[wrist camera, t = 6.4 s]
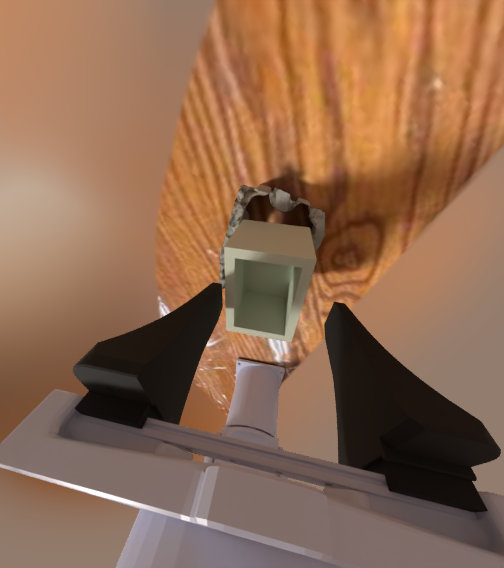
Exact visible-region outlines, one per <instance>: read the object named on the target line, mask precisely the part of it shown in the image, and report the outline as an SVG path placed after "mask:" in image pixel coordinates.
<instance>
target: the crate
mask: <svg viewBox="0 0 504 568" xmlns="http://www.w3.org/2000/svg"><path fill="white" fill-rule="evenodd" d="M224 261H225V302H226V330H228V331H233V332H239V333H244V334H249V335H255V336H260V337H265V338H271V339H276V340H281V341H287V342H291V341H292V338H293V335H294V332H295V328H296V325H297V322H298V319H299V316H300V312H301V309H302V306H303V303H304V300H305V296H306V293H307V290H308V287H309V283H310V280H311V277H312V274H313V271H314V267H315V264H316V261H317V258H316V254H315V249H314V245H313V240H312V235H311V231H310V228H309V227H301V226H293V225H285V224H277V223H269V222H261V221H253V220H245V219H243V220H242V222H241V223H240V225H239V226H238V228H237V229H236V231H235V232H234V233H233V235H232V236H231V238H230V239H229V241H228V242H227V243H226V245H225V246H224Z"/></svg>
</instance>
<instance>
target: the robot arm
mask: <svg viewBox="0 0 504 568" xmlns="http://www.w3.org/2000/svg"><path fill="white" fill-rule="evenodd" d="M222 307H223V304H222V284H219V283H212V284H210V285H209V286H208V287H206V288H205V289H204V290H203V291H201V292H200V293H199V294H197V295H196V296H195V297H193V298H192V299H191V300H189V301H188V302H187V303H185V304H184V305H182V306H181V307H179V308H178V309H176V310H174V311H173V312H171V313H169V314H167V315H166V316H164V317H162V318H160V319H158V320H156V321H154V322H152V323H150V324H147V325H145V326H143V327H141V328H138V329H136V330H133V331H131V332H128V333H126V334H123V335H120V336H117V337H114V338H111V339H108V340H105V341H102V342H98V343H97V344H96V345H95V346H94V347H93V348H92V349H91V350H90V351H89V352H88V353H87V354H86V355H85V356H84V357H83V358H82V359H81V360H80V361H79V362H78V363H77V364H76V365H75V366H74V368H73V372H74V375H75V376H76V377H77V378H78V379H79V381H81V383H82V384H83V385H84V386H85V387H86V388H87V389H88V390H89V392H88V393H87V394H86V395H85V396H84V397H83V396H81V395H78V394H75V393H71V392H67V391H63V390H58V389H56V390H53V391H52V392H51V393H50V394H49V395H48V396H47V397H46V398H45V399H44V400H43V402H41V403H40V404H39V405H38V406H37V407H36V408H35V409H34V410H33V412H31V413H30V414H29V415H28V416H27V417H26V418H25V420H23V421H22V423H20V424H19V425H18V426H17V428H15V429H14V431H12V432H11V433H10V434H9V435H8V437H7V438H6V439H5V440H4V441H3V442H2V443H1V444H0V467H1V468H5V469H8V470H11V471H14V472H18V473H21V474H24V475H27V476H31V477H34V478H37V479H41V480H45V481H48V482H51V483H54V484H58V485H61V486H64V487H68V488H71V489H75V490H78V491H81V492H85V493H88V494H91V495H95V496H98V497H101V498H105V499H108V500H111V501H115V502H118V503H121V504H125V505H128V506H132V507H135V508H138V509H140V511H139V513H138V516H137V518H136V520H135V523H134V525H133V528H132V530H131V532H130V535H129V537H128V539H127V542H126V544H125V547H124V549H123V551H122V554H121V556H120V558H119V561H118V563H117V566H116V568H504V496H502V495H498V494H494V493H489V492H478V491H477V490H476V488H475V486H474V484H473V482H472V481H476V476H475V474H474V472H473V470H472V469H471V467H472V466H476V465H479V464H483V463H486V462H490V461H492V460H495V459H497V458H498V457H499V456H500V454H501V449H500V448H499V447H498V445H497V444H496V442H495V441H494V439H493V438H492V436H491V435H490V434H489V432H488V431H487V429H486V428H485V426H484V425H483V423H482V422H481V421H480V420H478V419H477V418H475V417H474V416H472V415H470V414H469V413H468V412H466V411H464V410H463V409H462V408H460V407H459V406H457V405H456V404H454V403H452V402H451V401H449V400H448V399H447V398H445V397H444V396H442V395H441V394H440V393H438V392H437V391H435V390H434V389H433V388H431V387H430V386H428V385H427V384H426V383H424V382H423V381H422V380H420V379H419V378H418V377H417V376H416V375H414V374H413V373H412V372H411V371H409V370H408V369H407V368H406V367H405V366H403V365H402V364H401V363H400V362H399V361H398V360H397V359H395V358H394V357H393V356H392V355H391V354H390V353H389V352H388V351H387V350H386V349H384V347H383V346H382V345H381V344H380V343H379V342H378V341H377V340H376V339H375V338H374V337H373V336H372V335H371V334H370V333H369V332H368V331H367V329H366V328H365V327H364V326H363V325H362V324H361V322H360V321H359V320H358V319H357V318H356V317H355V315H354V314H353V313H352V312H351V310H350V309H349V308H348V307H347V306H346V305H345V304H344V303H338V302H334V304H333V306H332V308H331V311H330V313H329V315H328V317H327V320H326V322H325V324H324V325H325V340H326V345H327V349H328V355H329V359H330V364H331V369H332V374H333V380H334V389H335V400H336V412H337V430H338V460H339V461H338V464H337V463H333V462H329V461H325V460H321V459H317V458H312V457H308V456H304V455H300V454H296V453H292V452H287V451H284V450H283V448H281V447H278V443H279V442H278V441H279V439H278V438H276V433H277V414H278V396H279V388H280V385H281V382H282V379H283V376H284V373H285V368H283V367H279V366H274V365H269V364H264V363H259V362H254V361H249V360H244V359H237V361H236V385H235V389H234V393H233V397H232V401H231V405H230V410H229V414H228V418H227V422H226V426H224V427H223V430H222V433H220V432H217V433H216V434H213V433H209V432H205V431H201V430H197V429H193V428H188V427H185V426H180V425H179V422H180V419H181V415H182V412H183V409H184V405H185V402H186V399H187V396H188V393H189V390H190V386H191V384H192V381H193V378H194V375H195V372H196V369H197V366H198V364H199V361H200V358H201V355H202V353H203V351H204V348H205V346H206V344H207V342H208V340H209V338H210V336H211V334H212V332H213V330H214V328H215V326H216V324H217V321H218V319H219V316H220V313H221V310H222ZM186 451H187V452H186ZM189 452H191V453H195V454H199V455H203V456H205V459H204V462H200V461H194V460H193V455H192V454H191V453H189ZM288 477H289V478H293V479H296V480H300V481H304V482H308V483H312V484H316V485H320V486H324V487H325V488H324V489H323V491H321V490H319V489H317V488H315V487H312V486H309V485H306V484H303V483H299V482H296V481H292V480H288Z"/></svg>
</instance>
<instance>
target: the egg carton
mask: <svg viewBox="0 0 504 568" xmlns="http://www.w3.org/2000/svg"><path fill="white" fill-rule="evenodd" d="M271 189H272V188H270V187H268V186H265V185H263V184H260V185H259V186H258V188H257V189H255V188H252V187H248V186H245V185H242V186H241V189H239V191H238V195H237V198H236V200H235V204H234V208H233V211H232V214H231V218H230V222H229V227H228V230H227V233H226V237H225V241H224V244H223V248H222V251H221V255H220V279H219V284H222V288H223V289H224V288H225V261H224V246H225V245H226V243H227V242H228V241H229V239H230V238H231V236H232V235H233V233H234V232H235V231H236V229H237V228H238V226H239V225H240V223H241V222H242V220H243V219H245V220H249V219H250V218H249V214H248V211H247V210H246V207H247V205H248V203H249V202H250V200H251V199H252V198H253V197H254V196H256V195H263V196H264V195H267V194H269V198H270V202H271V205H272V206H273V207H274V208H275V209H276V210H277V211H280V212H288V211H291V210H292V209H294V208H295V206H296V205H298V204H299V203H303V204H306V205H308V210H309V214H310V215H309V218H310V220H311V222H312V223H313V227H312V229H311V230H310V231H311V235H312V240H313V245H314V249H315V252H316V251H317V249H318V248H319V246H320V245H321V243H322V241H323V238H324V234H325V212H323V211H322V210H320V209H315V208H313V209H312V208H311V207H310V203H309V201H307V200H305V199H302V198H297V200H296V201H295V202H294V201H293V200H291V199H290V194H288V193H286V192H284V191H282V190H280V189H277V188H274V191H272V192H271Z"/></svg>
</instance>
